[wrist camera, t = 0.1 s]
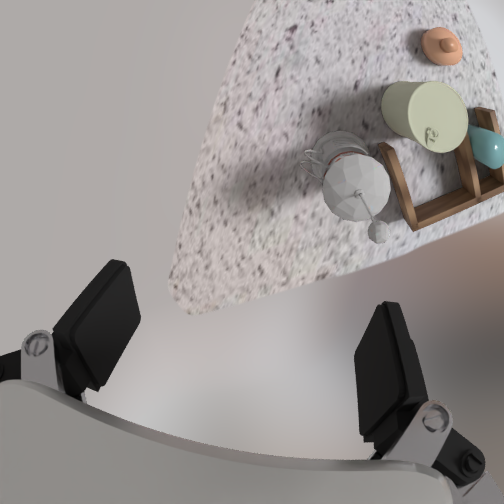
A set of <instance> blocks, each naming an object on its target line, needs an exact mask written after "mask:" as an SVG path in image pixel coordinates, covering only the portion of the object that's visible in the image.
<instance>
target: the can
mask: <svg viewBox="0 0 504 504" xmlns="http://www.w3.org/2000/svg"><path fill="white" fill-rule="evenodd" d="M381 110H382V115H383V118H384V120H385V122H386V123H387V125H388V126H389V127H390V129H391V130H393V131H394V132H395V133H397V134H399V135H401V136H404V137H407V138H409V139H411V140H413V141H415V142H417V143H419V144H420V145H422V146H423V147H424V148H426V149H428V150H430V151H433V152H437V153H445V152H449V151H452V150H453V149H455V148H456V147H458V146H459V145H460V144H461V142H462V141H463V139H464V137H465V135H466V132H467V128H468V114H467V110H466V106H465V104H464V102H463V100H462V98H461V97H460V95H459V94H458V93H457V92H456V91H455V90H454V89H453V88H452V87H450V86H449V85H447V84H445V83H442V82H438V81H429V82H408V81H400V82H396V83H394V84H392V85H391V86H390V87H388V89H387V90H386V91H385V93H384V95H383V97H382V102H381Z"/></svg>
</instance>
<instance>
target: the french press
mask: <svg viewBox="0 0 504 504" xmlns="http://www.w3.org/2000/svg"><path fill="white" fill-rule="evenodd" d="M306 152H312V154H311V157H310V156H309V155H307V154H306ZM304 154H305V156H307V157H308V158H309V159H311V160H310V161H301V162H300V167H301V168H302V169H303V170H305V171H306V172H307V173H309V174H310V175H311V176H313V177H315V178H317V179H318V180H319V181H320V182H321V183H322V185H323V189H322V190H323V195H324V200H325V203H326V204H327V206H328V207H329V209H330V210H331V211H332V213H334V214H335V215H337V216H339V217H340V218H342V219H343V220H349V221H354V222H357V221H363V220H368V219H370V218H371V219H372V221H373V223H372V224H371V225H370V226H369V229H368V236H369V239H371V240H372V241H374V242H375V243H377V244H380V243H385V242H386V241H387V239H388V238H389V237H390V229H389V226H388V225H387V224H386V223H385V222H384V221H380V220H379V221H375V219H374V218H373V216H375V215H376V214H378V213H380V211H381V210H382V209H383V207H384V206H385V205H386V203H387V201H388V198H389V194H390V191H391V188H390V179H389V176H388V174H387V172H386V170H385V169H384V167H383V165H381V164H380V163H379V162H377V161H376V160H375V159H373V158H372V157H371V156H370V153H369V149H368V148H367V146H366V144H365V143H364V141H363V140H362V139H361V138H359V137H358V136H356V135H355V134H353V133H350V132H346V131H341V130H340V131H335V132H330V133H327V134H326V135H324V136H323V137H321V138H320V139H318V141H317V143H316V144H315V146H314V147H313V149H312V150H310V149H309V150H305V151H304ZM304 162H306V163H311V166H312V170H313V173H314V174H315V175H314V174H312V173H310V172H309V171H307V170H306V169H305V168H304V167H303V166H302V163H304Z"/></svg>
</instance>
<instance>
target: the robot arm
mask: <svg viewBox="0 0 504 504" xmlns="http://www.w3.org/2000/svg"><path fill="white" fill-rule="evenodd" d="M140 320H141V315H140V311H139V307H138V303H137V299H136V294H135V290H134V285H133V281H132V276H131V271H130V268H129V266H127V264H126V263H125V262H123V261H119V260H114V259H112V260H110V261H109V262H108V263H107V264H106V265H105V266H104V267H103V269H102V270H101V271H100V272H99V273H98V274H97V275H96V276H95V278H94V279H93V280H92V281H91V282H90V283H89V285H88V286H87V287H86V288H85V289H84V290H83V292H82V293H81V294H80V295H79V296H78V298H77V299H76V300H75V301H74V302H73V304H72V305H71V306H70V307H69V309H68V310H67V311H66V312H65V314H64V315H63V316H62V317H61V319H60V320H59V321H58V323H57V324H56V325H55V326H54V328H53V331H54V332H53V333H52V334H50V333H49V332H48V331H46V330H36V331H34V332H32V333H30V334H29V335H28V336H27V337H26V338H25V339H24V341H23V343H22V347H21V350H18V351H15V352H11V353H8V354H5V355H2V356H0V504H504V496H503V494H502V493H501V491H500V489H499V488H498V486H497V484H496V483H495V481H494V480H493V478H492V476H491V475H490V473H489V472H488V471H487V472H486V473H485V472H484V469H485V458H484V455H483V453H482V452H481V451H480V450H479V449H478V448H477V447H476V446H474V445H473V444H472V443H471V442H469V441H468V440H467V439H465V438H464V437H463V436H462V435H460V434H459V433H458V432H457V431H456V430H454V429H453V428H452V424H453V417H452V414H451V411H450V410H449V408H448V407H447V406H446V405H445V404H444V403H442V402H440V401H435V400H432V401H429V400H428V395H427V391H426V387H425V382H424V378H423V374H422V370H421V367H420V363H419V359H418V355H417V352H416V349H415V345H414V343H413V340H411V339H410V336H409V332H408V329H407V326H406V322H405V319H404V316H403V313H402V310H401V307H400V305H399V303H396V302H386V301H384V302H383V303H382V304H381V305H378V306H377V307H376V309H375V312H374V314H373V316H372V318H371V321H370V323H369V325H368V327H367V329H366V331H365V333H364V335H363V337H362V339H361V341H360V343H359V345H358V347H357V349H356V351H355V355H354V362H355V374H356V384H357V398H358V412H359V432H360V435H362V436H363V437H364V442H374V449H375V450H374V452H373V453H372V454H371V455H370V456H369V458H368V459H367V460H329V459H307V458H293V457H282V456H273V455H264V454H258V453H250V452H244V451H239V450H233V449H228V448H222V447H217V446H213V445H208V444H204V443H200V442H195V441H191V440H187V439H184V438H180V437H176V436H173V435H169V434H166V433H163V432H159V431H156V430H153V429H150V428H147V427H144V426H141V425H138V424H135V423H132V422H130V421H127V420H124V419H121V418H119V417H116V416H114V415H111V414H109V413H107V412H104V411H102V410H99V409H97V408H95V407H92V406H90V405H88V404H87V401H86V397H85V393H84V390H85V389H86V387H88V388H90V389H92V390H94V391H97V392H98V391H99V389H100V387H101V386H104V385H105V384H106V382H107V380H108V379H109V377H110V375H111V373H112V371H113V369H114V368H115V366H116V364H117V362H118V360H119V358H120V357H121V355H122V353H123V351H124V350H125V348H126V346H127V344H128V343H129V340H130V339H131V337H132V336H133V334H134V332H135V330H136V329H137V327H138V325H139V323H140Z"/></svg>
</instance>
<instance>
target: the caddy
mask: <svg viewBox="0 0 504 504" xmlns="http://www.w3.org/2000/svg"><path fill="white" fill-rule="evenodd" d="M474 110H475V113H476V116H477V120H478V123H479V127H481V128H484V129H487V130H489V131H492V132H495V133H498V134H500V130H499V126H498V122H497V118H496V114H495V110H491V109H486V108H482V107H477V108H474ZM500 135H501V134H500ZM378 146H379V149H380V151H381V154H382V156H383V159H384V161H385V164H386V166H387V169H388V172H389V174H390V177H391V180H392V183H393V186H394V189H395V192H396V195H397V198H398V201H399V204H400V207H401V210H402V213H403V217H404V219H405V221H406V222H407V224H408V225H409V227H410V228H411V230H412V231H413V232H414V231H417V230H419V229H421V228H424V227H426V226H428V225H431V224H433V223H435V222H438V221H440V220H442V219H445V218H447V217H449V216H452V215H454V214H456V213H458V212H461V211H463V210H465V209H467V208H469V207H472V206H474V205H476V204H478V203H480V202H483V201H485V200H487V199H489V198H491V197H493V196H495V195H498V194H500V193H502V192H504V164H503V165H502V166H501V167H500V168H497V169H492V168H490V167H489V172H490V175H489V176H487V177H485V178H483V179H480V180H478V175H477V170H476V165H475V160H474V156H473V152H472V147H471V144H470V140H469V136H468V132H466V135H465V137H464V139H463V141H462V142H461V144H460V145H459V146H458V147H456V148H455V149H454V153H455V157H456V160H457V164H458V169H459V173H460V177H461V182H462V188H460V189H457V190H455V191H453V192H450V193H448V194H446V195H443V196H441V197H439V198H436V199H434V200H432V201H429V202H427V203H425V204H422V205H420V206H417V207H415V208H414V207H413V204H412V200H411V197H410V194H409V190H408V187H407V184H406V181H405V178H404V175H403V172H402V169H401V166H400V163H399V161H398V158H397V155H396V152H395V150H394V148H393V147H391V146H390V145H388V144H387V143H385V142H383V143H380V144H378Z"/></svg>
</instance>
